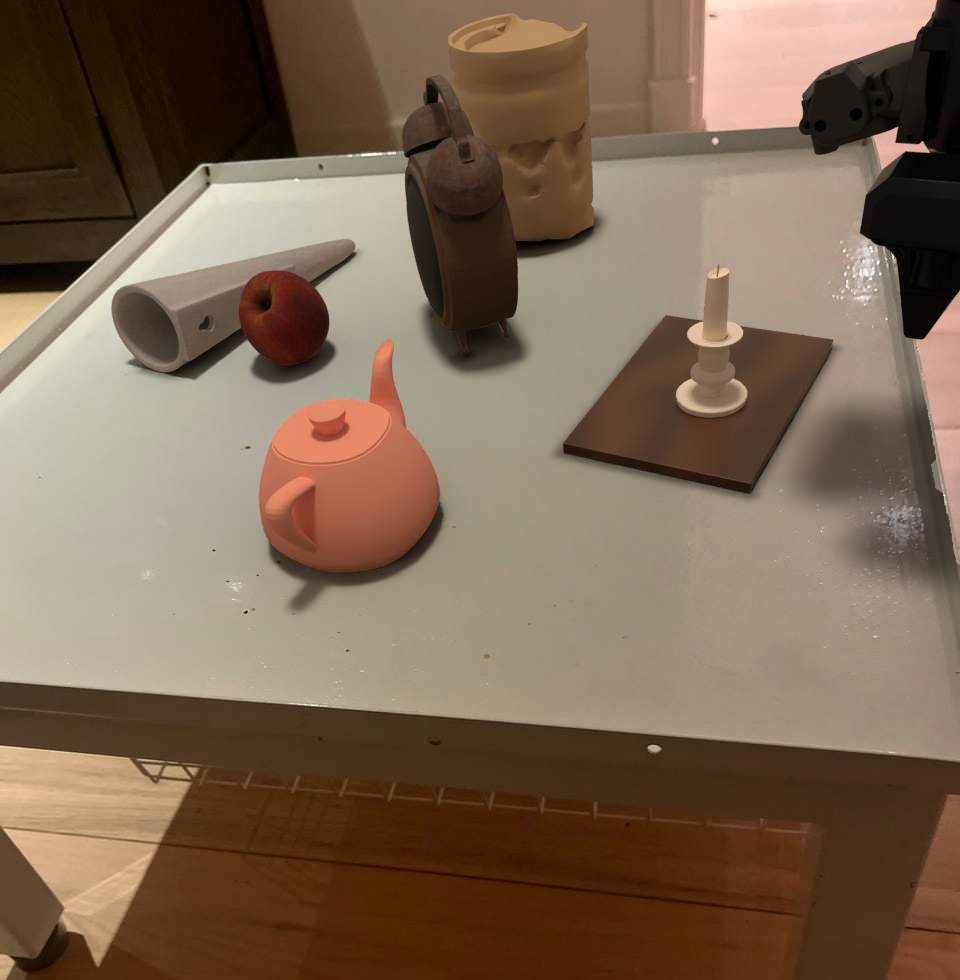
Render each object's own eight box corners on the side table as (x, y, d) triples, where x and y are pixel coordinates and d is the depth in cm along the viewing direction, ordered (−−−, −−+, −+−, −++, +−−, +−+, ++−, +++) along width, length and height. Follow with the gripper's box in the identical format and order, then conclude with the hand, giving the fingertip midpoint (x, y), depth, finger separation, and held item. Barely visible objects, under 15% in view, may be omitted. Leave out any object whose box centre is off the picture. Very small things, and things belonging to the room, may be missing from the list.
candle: (669, 415, 71) (672, 280, 64) (682, 378, 74) (687, 245, 67) (741, 421, 69) (753, 283, 62) (751, 383, 73) (764, 248, 65)
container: (523, 198, 105) (507, 6, 92) (618, 218, 98) (615, 14, 85) (446, 244, 99) (418, 45, 86) (542, 268, 92) (527, 58, 79)
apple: (236, 367, 86) (207, 281, 80) (299, 329, 90) (276, 244, 84) (290, 389, 82) (264, 300, 76) (354, 348, 86) (334, 260, 80)
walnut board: (831, 348, 76) (833, 339, 76) (749, 493, 65) (750, 483, 64) (665, 323, 82) (665, 314, 82) (563, 452, 71) (562, 443, 70)
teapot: (224, 587, 65) (175, 472, 58) (344, 436, 76) (315, 325, 69) (384, 619, 61) (352, 498, 54) (486, 454, 72) (470, 338, 65)
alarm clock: (413, 305, 90) (370, 67, 76) (487, 287, 91) (458, 48, 77) (450, 379, 80) (409, 120, 66) (533, 358, 81) (510, 98, 67)
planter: (288, 199, 101) (99, 280, 84) (354, 205, 97) (170, 291, 80) (302, 274, 105) (126, 365, 89) (366, 283, 102) (194, 379, 85)
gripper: (876, -57, 54) (836, 221, 65) (772, 45, 44) (745, 356, 55) (1100, -62, 49) (1016, 238, 61) (1045, 51, 39) (955, 390, 50)
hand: (932, 299), depth 57 cm, fingers open, 9 cm apart
